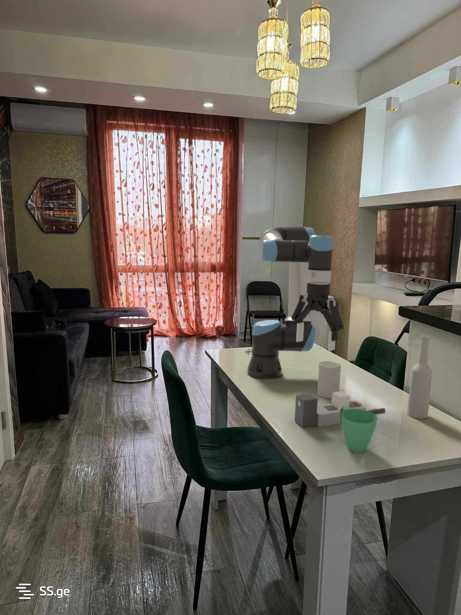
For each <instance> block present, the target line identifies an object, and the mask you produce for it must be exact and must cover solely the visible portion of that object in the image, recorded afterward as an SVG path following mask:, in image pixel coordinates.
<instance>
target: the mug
mask: <svg viewBox="0 0 461 615" xmlns="http://www.w3.org/2000/svg"><path fill="white" fill-rule="evenodd" d="M341 422H342V423H341V425H342V432H343V435H344V440H345V444H346V446H347V448H348V450H349V451H351V452H354V453H361V454H362V453H364V452H365V451H366V449H367V448H368V446H369V444H370V442H371V439H372V437H373V435H374V432H375V429H376V426H377V422H378V417H377V416H376V414H375V413H371V412H368V411H365V410H361V409H351V408H350V407H349V406H343V407H342V409H341Z"/></svg>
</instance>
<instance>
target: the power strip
mask: <svg viewBox="0 0 461 615" xmlns="http://www.w3.org/2000/svg"><path fill="white" fill-rule="evenodd" d="M349 407H350V408H351V409H361V410H365V411H368V412H371V413H373V414H376V413H383V412H386V408H385V407H380V408H375V409H369V410H367V408H366V407H365V406H363V405H362V403H360V402H359V401H357V400H349ZM337 424H342V422H341V410H338V409H337V408H336V407H334V406H332V402H331V403H322V404H317V418H316V425H315V426H317V427H325V426H331V425H337Z"/></svg>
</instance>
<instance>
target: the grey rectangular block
mask: <svg viewBox="0 0 461 615" xmlns="http://www.w3.org/2000/svg"><path fill="white" fill-rule="evenodd" d="M318 400H319V399H318V398H317V397H316V396H315V395H313V394H312V393H310V392H309V393H308V392H307V393H300V394H295V408H294V422H295V423H296V424H298V425H299V426H300V427H302V428H306V427H307V428H308V427H312V426H313V427H314V426H317V425H316V418H317V405H318V403H319V402H318Z"/></svg>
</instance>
